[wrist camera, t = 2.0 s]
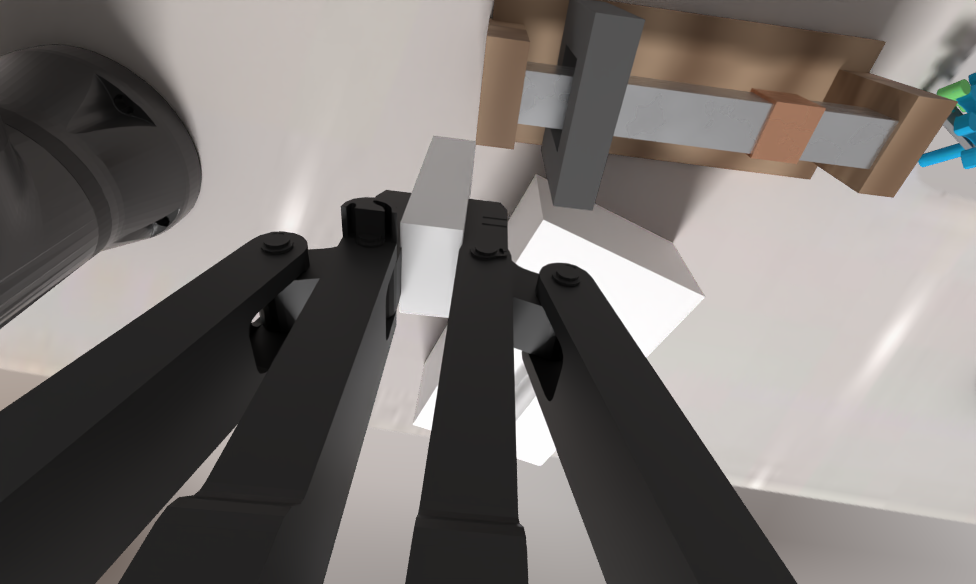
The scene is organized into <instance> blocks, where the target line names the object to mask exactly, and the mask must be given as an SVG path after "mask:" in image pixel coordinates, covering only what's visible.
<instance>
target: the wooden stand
mask: <svg viewBox="0 0 976 584" xmlns="http://www.w3.org/2000/svg"><path fill="white" fill-rule="evenodd" d="M595 1H602V2H607V3H609V4H612V5H614V6H616V7H618V8H621V9H623V10H625V11H627V12H629V13H632V14H634V15H636V16H638V17H641V18H643V19H645V23H644V27H643V30H642V34H641V38H640V41H639V45H638V48H637V52H636V56H635V59H634V63H633V67H632V70H631V74H630V75H631V76H638V77H645V78H653V79H660V80H667V81H675V82H682V83H689V84H696V85H704V86H711V87H718V88H726V89H733V90H740V91H747V92H750V91H751V88H755V89H762V90H769V91H777V92H784V93H791V94H797V95H799V96H801V97H803V98H805V99H808V100H813V101H820V102H828V103H835V104H842V105H849V106H857V107H864V108H868V109H871V110H873V111H876V112H878V113H880V114H883V115H885V116H888V117H890V118H892V119H895V120H897V121H899V122H898V124H897V125H896V127H895V129H894V130H893V132H892V133H891V135H890V137H889V138H888V140H887V141H886V143H885V145H884V146H883V148H882V149H881V151H880V153H879V154H878V156H877V158H876V159H875V161H874V162H873V164H872V166H871V167H870V169H863V168H856V167H848V166H840V165H832V164H825V163H817V162H809V161H802V160H799V161H798V163H797V164H792V163H785V162H777V161H769V160H761V159H754V158H750V157H749V156H748V155H746V154H745V153H740V152H732V151H725V150H717V149H709V148H701V147H694V146H686V145H678V144H671V143H663V142H655V141H648V140H640V139H632V138H624V137H617V136H613V139H612V142H611V146H610V150H609V153H608V154H615V155H623V156H630V157H638V158H646V159H654V160H662V161H670V162H677V163H685V164H693V165H701V166H709V167H717V168H724V169H732V170H740V171H748V172H756V173H764V174H771V175H779V176H787V177H795V178H803V179H811V177H812V175H813V173H814V171H815V170H816V168H817V166H818V167H820V168H821V169H823V170H824V171H826V172H827V173H829V174H830V175H832V176H833V177H835V178H836V179H838V180H839V181H841V182H842V183H844V184H845V185H847V186H848V187H850V188H851V189H853V190H854V191H856V192H857V193H861V194H869V195H877V196H885V197H894V196H895V194H896V193H897V192H898V190H899V189H900V187H901V186H902V184H903V183H904V181H905V180H906V178H907V177H908V175H909V174H910V172H911V171H912V169H913V168H914V166H915V165H916V163H917V162H918V161H919V159H920V158H921V156H922V155H923V153H924V151H925V150H926V149H927V147H928V146H929V144H930V143H931V141H932V140H933V138H934V137H935V135H936V134H937V132H938V131H939V130H940V128H941V127H942V125H943V124H944V122H945V121H946V119H947V118H948V116H949V115H950V113H951V112H952V110H953V109H954V107H955V106H956V105H957V103H958V101H955V100H952V99H948V98H945V97H942V96H939V95H936V94H933V93H930V92H927V91H924V90H920V89H917V88H914V87H911V86H908V85H905V84H902V83H899V82H896V81H892V80H889V79H886V78H883V77H880V76H877V75H874V74H871V73H869V72H870V70H871V68H872V66H873V65H874V63H875V61H876V59H877V57H878V56H879V54H880V52H881V50H882V48H883V47H884V45H885V43H886V42H884V41H879V40H874V39H867V38H860V37H853V36H847V35H840V34H833V33H826V32H819V31H812V30H805V29H798V28H792V27H785V26H778V25H771V24H764V23H757V22H750V21H744V20H737V19H730V18H723V17H716V16H709V15H702V14H695V13H689V12H682V11H675V10H668V9H661V8H654V7H647V6H641V5H634V4H627V3H620V2H613V1H606V0H595ZM568 4H569V0H494V9H493V18H490V19H489V25H488V32H487V39H486V48H485V58H484V67H483V77H482V86H481V96H480V105H479V115H478V124H477V134H476V145H483V146H491V147H499V148H506V149H514V144H515V142H521V143H529V144H536V145H542V142H543V136H544V131H545V127H540V126H532V125H524V124H518V118H519V112H520V105H521V99H522V92H523V86H524V79H525V73H526V66H527V61H529V62H536V63H543V64H551V65H557V63H558V57H559V52H560V47H561V41H562V36H563V31H564V26H565V20H566V15H567V10H568Z"/></svg>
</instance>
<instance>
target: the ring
mask: <svg viewBox="0 0 976 584" xmlns="http://www.w3.org/2000/svg"><path fill="white" fill-rule="evenodd" d="M644 23H645V19H643V18H641V17H638V16H636V15H634V14H632V13H629V12H627V11H625V10H623V9H621V8H618V7H616V6H614V5H612V4H609V3H607V2H602V1H595V0H569V4H568V10H567V15H566V20H565V26H564V31H563V36H562V41H561V47H560V52H559V57H558V63H557V65H558V66H565V67H572V68H575V72H574V76H573V81H572V86H571V91H570V95H569V100H568V105H567V110H566V114H565V119H564V124H563V128H562V129H555V128H547V127H545V131H544V136H543V142H542V147H541V151H542V156H543V161H544V166H545V170H546V175H547V180H548V184H549V189H550V194H551V199H552V203H553V206H557V207H565V208H574V209H582V210H590V211H593V208H594V204H595V200H596V197H597V193H598V190H599V186H600V182H601V179H602V175H603V171H604V168H605V164H606V161H607V157H608V153H609V150H610V146H611V142H612V139H613V135H614V132H615V128H616V124H617V121H618V117H619V114H620V110H621V106H622V103H623V99H624V95H625V92H626V88H627V85H628V81H629V77H630V74H631V70H632V67H633V63H634V59H635V56H636V52H637V48H638V45H639V41H640V38H641V34H642V30H643V27H644Z"/></svg>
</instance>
